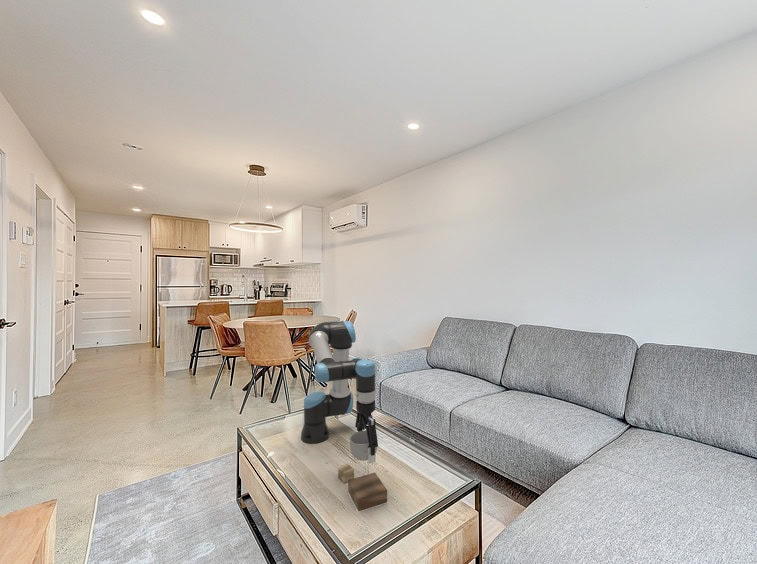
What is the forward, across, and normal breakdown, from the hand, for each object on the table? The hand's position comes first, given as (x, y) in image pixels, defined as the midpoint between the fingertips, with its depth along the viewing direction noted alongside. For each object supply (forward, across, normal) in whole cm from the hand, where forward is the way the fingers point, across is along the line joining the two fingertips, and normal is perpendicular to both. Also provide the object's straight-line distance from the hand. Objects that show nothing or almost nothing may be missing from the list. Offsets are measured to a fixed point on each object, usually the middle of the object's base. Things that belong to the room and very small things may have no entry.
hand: (366, 454), depth 131 cm
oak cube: (+18, -15, -4) cm, 24 cm away
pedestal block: (+17, 0, 0) cm, 17 cm away
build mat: (+18, -2, 0) cm, 18 cm away
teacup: (+1, -1, 0) cm, 1 cm away
